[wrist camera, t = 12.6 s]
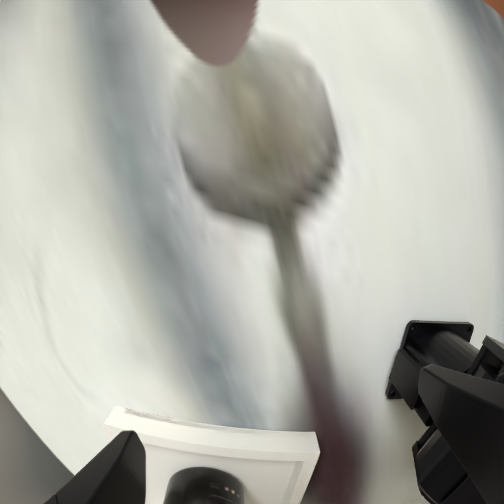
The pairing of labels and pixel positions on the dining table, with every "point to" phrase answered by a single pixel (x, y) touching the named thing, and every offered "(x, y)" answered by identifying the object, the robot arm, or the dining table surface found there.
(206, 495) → the supplement bottle
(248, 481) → the tray
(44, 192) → the dining table surface
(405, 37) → the dining table surface
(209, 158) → the dining table surface
